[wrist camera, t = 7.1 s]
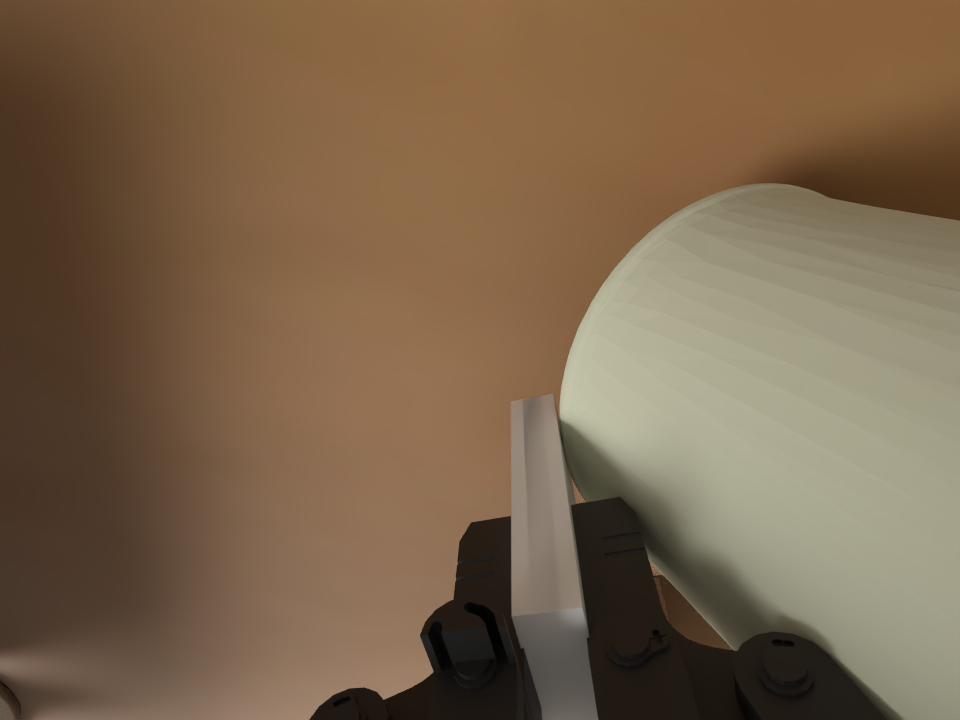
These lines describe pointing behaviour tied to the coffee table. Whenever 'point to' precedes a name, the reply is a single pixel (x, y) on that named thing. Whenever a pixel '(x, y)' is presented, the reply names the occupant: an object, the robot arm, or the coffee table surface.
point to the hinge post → (8, 705)
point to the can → (789, 427)
